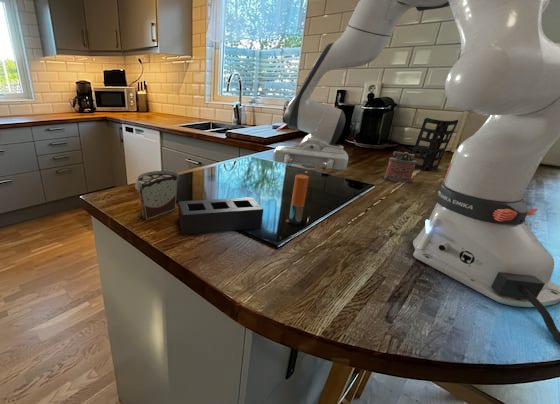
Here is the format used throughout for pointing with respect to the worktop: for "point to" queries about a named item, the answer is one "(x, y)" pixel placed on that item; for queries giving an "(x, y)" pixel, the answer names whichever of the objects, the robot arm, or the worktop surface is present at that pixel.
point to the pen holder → (219, 215)
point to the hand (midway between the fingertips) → (306, 164)
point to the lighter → (400, 167)
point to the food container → (157, 192)
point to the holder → (433, 143)
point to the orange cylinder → (298, 199)
